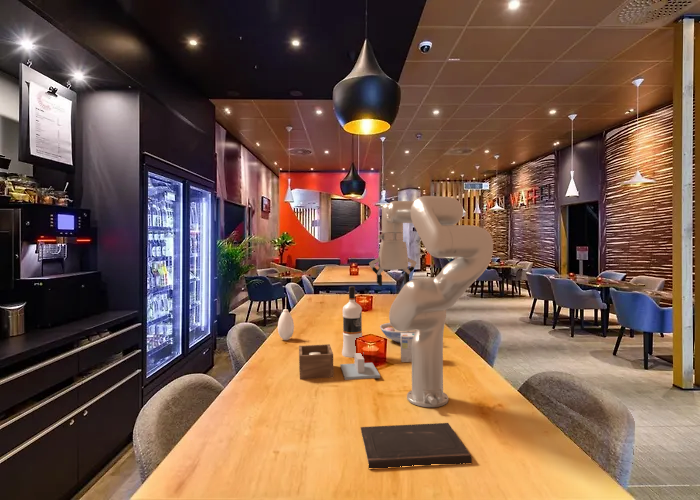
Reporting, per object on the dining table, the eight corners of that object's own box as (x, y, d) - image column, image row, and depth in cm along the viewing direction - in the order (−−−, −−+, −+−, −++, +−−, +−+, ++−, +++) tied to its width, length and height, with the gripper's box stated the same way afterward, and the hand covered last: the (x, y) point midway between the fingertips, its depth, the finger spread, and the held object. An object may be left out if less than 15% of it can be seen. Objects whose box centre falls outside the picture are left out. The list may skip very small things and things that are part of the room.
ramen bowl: (372, 337, 202) (372, 321, 202) (412, 334, 209) (412, 318, 209) (391, 350, 178) (391, 332, 178) (436, 345, 185) (436, 328, 185)
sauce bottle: (297, 339, 200) (296, 303, 200) (286, 342, 194) (286, 306, 193) (285, 337, 205) (284, 302, 204) (274, 340, 198) (274, 304, 198)
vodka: (347, 352, 176) (346, 285, 175) (366, 354, 172) (365, 285, 171) (338, 357, 167) (337, 287, 167) (358, 360, 164) (357, 288, 163)
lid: (380, 380, 140) (380, 361, 140) (345, 382, 139) (344, 363, 138) (372, 367, 155) (372, 349, 155) (340, 369, 153) (340, 351, 153)
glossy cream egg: (321, 370, 149) (321, 354, 149) (310, 371, 148) (309, 355, 148) (320, 366, 153) (319, 351, 153) (308, 367, 152) (308, 352, 152)
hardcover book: (360, 435, 101) (360, 426, 101) (448, 431, 103) (448, 422, 103) (368, 472, 85) (368, 461, 85) (471, 466, 87) (471, 456, 87)
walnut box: (333, 379, 141) (333, 354, 141) (299, 381, 140) (299, 356, 139) (330, 367, 155) (329, 344, 155) (299, 368, 154) (298, 345, 153)
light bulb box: (426, 358, 166) (425, 332, 166) (427, 362, 159) (427, 336, 159) (400, 357, 167) (400, 332, 167) (400, 362, 160) (400, 336, 160)
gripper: (371, 238, 137) (371, 287, 138) (419, 237, 140) (419, 285, 140) (367, 238, 145) (367, 284, 145) (412, 237, 147) (413, 283, 148)
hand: (393, 285), depth 143 cm, fingers open, 9 cm apart
